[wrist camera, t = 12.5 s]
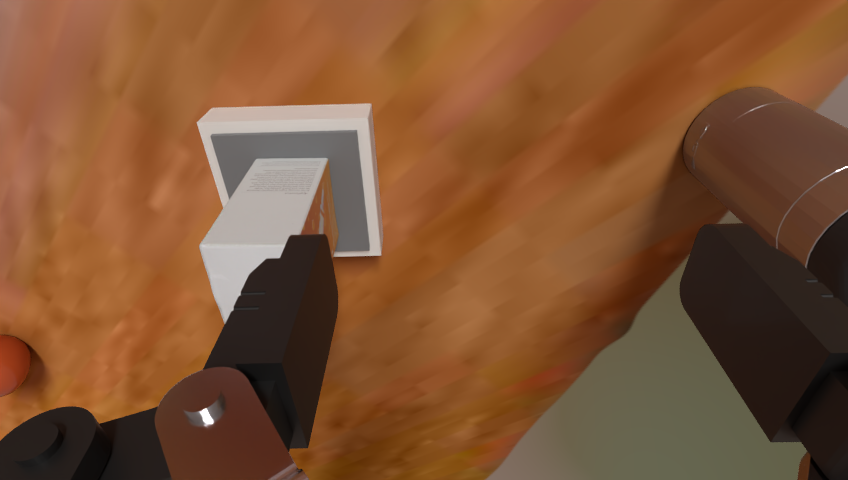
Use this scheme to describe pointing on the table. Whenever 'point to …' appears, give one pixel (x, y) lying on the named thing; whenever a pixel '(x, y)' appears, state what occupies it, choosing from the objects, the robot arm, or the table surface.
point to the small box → (267, 221)
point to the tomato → (13, 363)
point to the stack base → (305, 138)
